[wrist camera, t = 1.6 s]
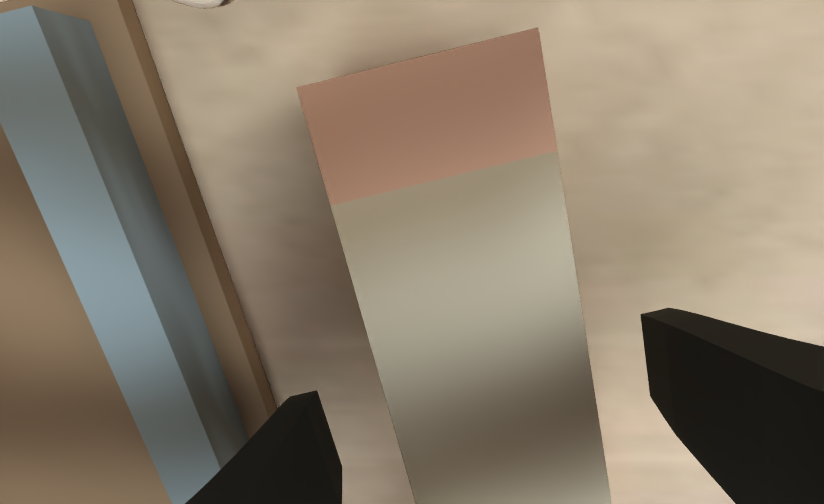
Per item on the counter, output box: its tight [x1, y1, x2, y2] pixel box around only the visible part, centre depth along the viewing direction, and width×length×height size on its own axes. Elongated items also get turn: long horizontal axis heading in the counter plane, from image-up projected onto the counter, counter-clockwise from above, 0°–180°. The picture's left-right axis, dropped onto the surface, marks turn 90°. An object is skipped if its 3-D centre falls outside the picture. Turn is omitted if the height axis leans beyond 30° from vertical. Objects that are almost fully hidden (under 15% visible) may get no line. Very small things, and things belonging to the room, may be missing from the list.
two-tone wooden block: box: [297, 28, 612, 504], centre depth 13 cm, size 14×4×5 cm, turn 13°
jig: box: [0, 0, 277, 504], centre depth 14 cm, size 21×12×3 cm, turn 13°
